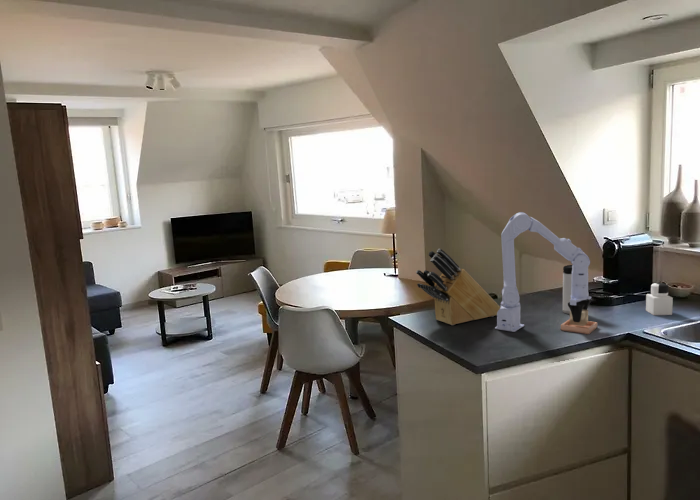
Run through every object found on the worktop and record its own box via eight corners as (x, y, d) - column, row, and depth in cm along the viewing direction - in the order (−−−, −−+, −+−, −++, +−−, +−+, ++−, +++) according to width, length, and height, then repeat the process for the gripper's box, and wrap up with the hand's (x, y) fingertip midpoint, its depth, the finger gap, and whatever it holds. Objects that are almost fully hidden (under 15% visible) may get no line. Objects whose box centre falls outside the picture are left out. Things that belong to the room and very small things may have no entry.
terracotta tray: (588, 334, 196) (588, 329, 196) (560, 330, 203) (560, 324, 202) (597, 327, 204) (597, 322, 203) (570, 323, 210) (570, 318, 210)
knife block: (415, 323, 220) (413, 248, 215) (483, 310, 235) (482, 239, 230) (431, 330, 210) (429, 251, 205) (501, 315, 225) (501, 241, 220)
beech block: (583, 326, 199) (583, 313, 199) (569, 324, 203) (569, 311, 202) (588, 323, 203) (588, 310, 202) (574, 321, 206) (574, 308, 206)
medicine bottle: (663, 310, 221) (665, 281, 220) (672, 315, 214) (673, 285, 213) (645, 310, 222) (646, 282, 220) (653, 315, 215) (654, 285, 213)
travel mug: (581, 314, 222) (582, 266, 219) (564, 314, 223) (564, 266, 220) (578, 310, 228) (578, 263, 225) (561, 310, 229) (561, 263, 226)
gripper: (584, 289, 193) (583, 326, 195) (597, 281, 203) (596, 316, 205) (564, 287, 197) (563, 323, 199) (577, 279, 208) (577, 314, 210)
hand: (579, 319), depth 203 cm, fingers closed on beech block, 5 cm apart
